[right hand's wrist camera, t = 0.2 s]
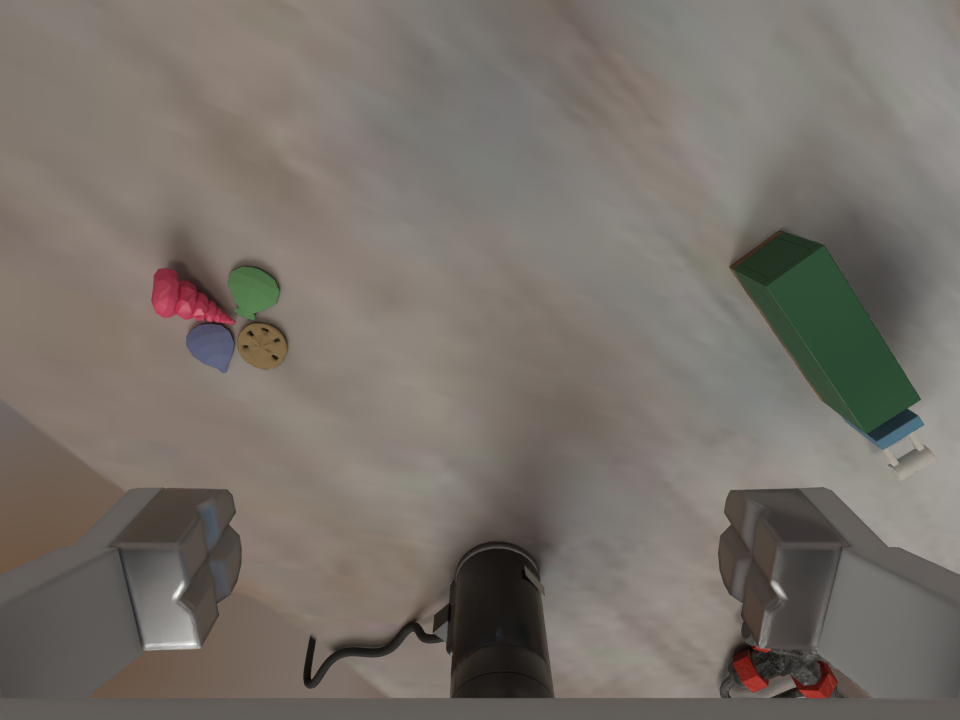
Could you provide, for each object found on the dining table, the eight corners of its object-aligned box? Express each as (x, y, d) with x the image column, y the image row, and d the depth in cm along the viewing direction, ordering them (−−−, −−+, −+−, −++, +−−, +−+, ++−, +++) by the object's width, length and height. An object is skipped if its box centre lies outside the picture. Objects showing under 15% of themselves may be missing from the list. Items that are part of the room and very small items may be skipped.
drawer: (909, 437, 62) (951, 467, 56) (872, 460, 63) (910, 492, 57) (801, 272, 56) (837, 287, 51) (762, 300, 57) (793, 318, 52)
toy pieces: (158, 355, 60) (134, 372, 56) (170, 245, 56) (145, 253, 52) (281, 386, 61) (266, 404, 57) (300, 279, 57) (286, 290, 53)
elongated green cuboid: (868, 368, 60) (921, 399, 53) (820, 399, 62) (865, 434, 54) (779, 230, 56) (824, 244, 49) (729, 267, 57) (765, 286, 50)
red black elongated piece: (670, 635, 74) (783, 579, 68) (787, 739, 81) (897, 696, 76) (682, 684, 68) (806, 628, 63) (806, 791, 76) (927, 749, 70)
